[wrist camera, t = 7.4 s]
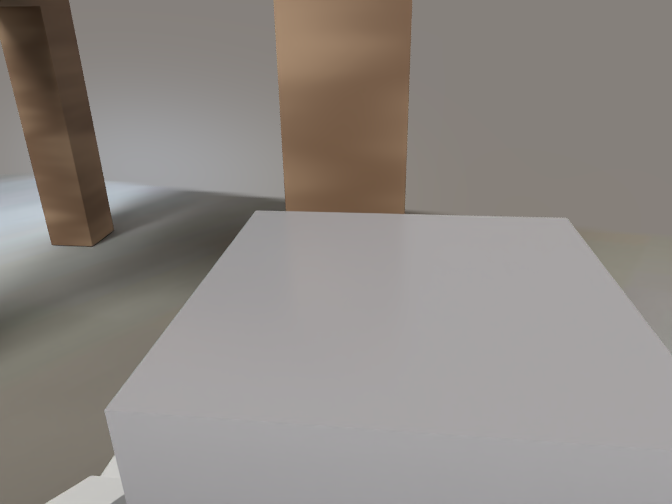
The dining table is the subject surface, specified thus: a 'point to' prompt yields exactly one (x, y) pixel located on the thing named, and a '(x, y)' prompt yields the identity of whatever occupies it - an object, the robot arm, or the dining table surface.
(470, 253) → the light grey block
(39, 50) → the trapdoor frame
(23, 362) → the dining table surface
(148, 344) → the dining table surface
